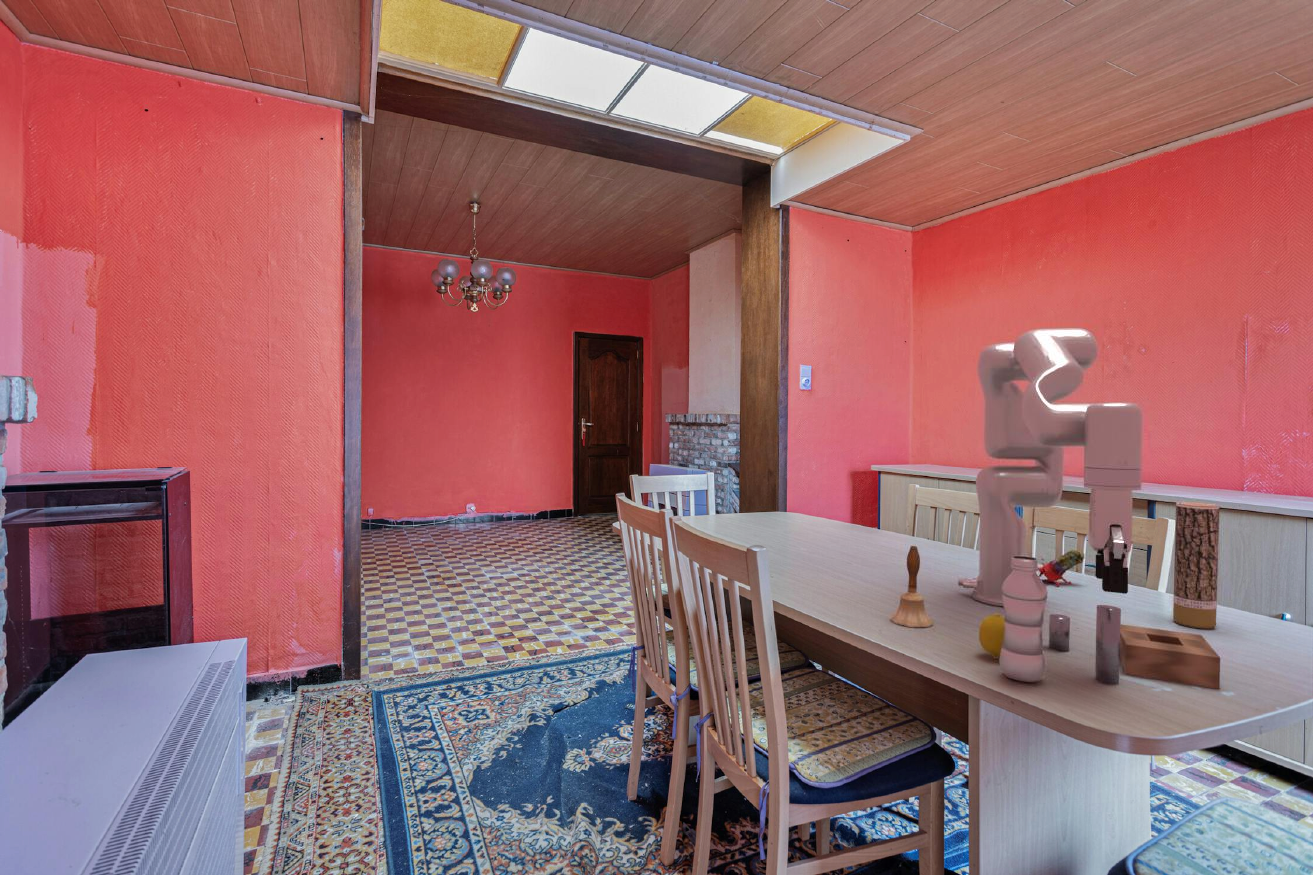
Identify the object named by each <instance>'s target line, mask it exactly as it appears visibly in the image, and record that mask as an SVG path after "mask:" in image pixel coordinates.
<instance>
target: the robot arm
mask: <svg viewBox="0 0 1313 875" xmlns="http://www.w3.org/2000/svg"><path fill="white" fill-rule="evenodd" d="M1098 354H1099V345H1098V341H1097V339H1096V337H1095V335H1093V333H1092V332H1090V331H1089V330H1087V329H1084V328H1080V327H1079V328H1078V327H1073V328H1072V327H1069V328H1067V327H1065V328H1038V329H1030V330H1028V331H1026V332H1024V333H1022V334H1021V335H1019V336H1018V337H1017V339H1016V340H1015V341H1014V342H1013V341H1012V342H1001V343H995V344H990V345H988V346H986V347H985V348H983V349H982V350H981V352H980V354H979V357H978V361H977V376H978V379H979V383H980V386H981V387H980V388H981V390H982V393H983V398H984V431H983V432H984V433H983V434H984V437H983V439H984V440H983V441H984V450H985V453H986V454H987V456H988V457H991V459H994V460H995V459H996V460H1006V461H1007V460H1010V461H1011V460H1012V461H1013V460H1016V461H1034V465H1016V464H1015V465H1012V464H1011V465H1007V464H1006V465H1005V464H1003V465H1001V464H999V465H990V466H987V467H984V468H982V469H981V470H979V472H978V473H977V475H976V478H975V486H976V487H975V488H976V494H977V495H976V496H977V500H978V507H979V549H978V550H979V554H978V556H979V558H978V562H979V564H978V565H979V566H978V575H977V578H975V577H973V578H972V579H971V578H966V577H958V578H957V579H958V581H957V586H959V587H962V588H964V589H965V588H966V589H973V590H972V591H971V597H972V598H973V600H975V601H978V602H980V603H984V604H987V605H992V606H996V607H997V606H999V607H1004V605H1003V598H1002V585H1003V582H1004V581H1005V580H1006V578H1007V577H1008V576H1009V575H1010V574H1011V573H1012V571H1013V569H1012V568H1011V564H1012V559H1011V558H1012V556H1027V527H1026V524H1025V522H1024V519H1022V518H1021V516H1020V515H1019V514H1018V513H1017V511H1016V509H1015V508H1027V507H1028V508H1051V507H1053V506H1056V505H1057V504H1058V503H1059V502H1060V500H1061V499H1062V495H1063V486H1064V485H1063V484H1064V482H1063V481H1064V459H1065V458H1064V454H1065V453H1064V449H1065V448H1066V447H1084V448H1083V449H1084V450H1083V452H1084V453H1083V488H1086V489H1091V490H1090V494H1089V514H1088V515H1089V518H1088V519H1089V520H1088V544H1089V546H1090V547H1091V548H1092V549H1093V550H1094V551H1095V552H1096V553H1095V578H1096V579H1097V580H1099V579H1100V580H1101V589H1102V591H1103V592H1107V593H1114V594H1115V593H1116V594H1128V593H1129V567H1128V558H1127V554H1128V553H1130V552H1131V549H1132V541H1133V537H1132V536H1133V491H1142V476H1143V475H1142V474H1143V473H1142V472H1143V470H1142V466H1143V465H1142V464H1143V462H1142V460H1143V456H1142V455H1143V410H1142V408H1141V407H1140V405H1138V404H1137V403H1133V402H1098V403H1087V402H1085V403H1081V402H1078V403H1076V402H1075V403H1074V402H1073V403H1067V402H1066V403H1065V402H1064V403H1062V402H1061V403H1059V402H1058V403H1056V402H1057V401H1060V400H1063V399H1066V398H1067V397H1069V396H1071V395H1072V394H1074V393H1075V392H1076V391H1077V390H1078V389H1079V388H1080V387H1081V385H1082V383H1083V381H1084V375H1085V374H1084V371H1085V372H1086V370H1088V369H1089V368H1091V367H1092V366H1093V365H1094V363H1095V362H1096V360H1097V357H1098ZM1015 381H1018V382H1019V381H1023V382H1024V381H1025V382H1026V381H1027V382H1029V384H1028V385H1027V386H1026V388H1025V390H1024V392H1023V390H1022V388H1021V387H1020V386H1019V385H1018V384H1017V383H1016V382H1015Z"/></svg>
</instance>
